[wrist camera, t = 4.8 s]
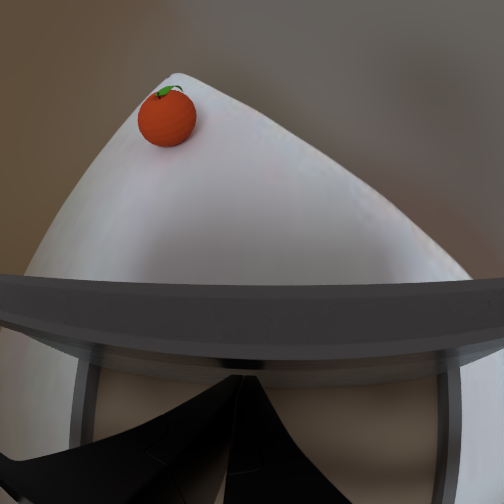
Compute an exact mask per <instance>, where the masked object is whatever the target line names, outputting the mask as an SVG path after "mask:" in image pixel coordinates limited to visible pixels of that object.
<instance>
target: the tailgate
mask: <svg viewBox="0 0 504 504" xmlns="http://www.w3.org/2000/svg"><path fill="white" fill-rule="evenodd" d="M0 326H2V327H5V328H8V329H11V330H14V331H18V332H21V333H23V334H25V335H27V336H29V337H31V338H33V339H35V340H37V341H39V342H41V343H43V344H46V345H48V346H50V347H52V348H55V349H57V350H59V351H62V352H64V353H66V354H69V355H71V356H74V357H76V358H79V359H81V360H84V361H86V362H89V363H92V364H94V365H97V366H100V367H103V368H107V369H112V370H117V371H122V372H127V373H132V374H138V375H143V376H149V377H156V378H162V379H169V380H177V381H185V382H193V383H203V384H213V385H215V384H217V383H218V382H220V381H222V380H223V379H225V378H227V377H228V376H230V375H232V374H236V375H243V376H245V375H255V376H257V378H258V379H259V381H260V383H261V385H262V387H263V388H323V387H344V386H359V385H371V384H381V383H390V382H398V381H406V380H413V379H420V378H426V377H432V376H436V375H439V374H442V373H445V372H448V371H450V370H453V369H456V368H458V367H461V366H464V365H466V364H469V363H471V362H474V361H476V360H479V359H481V358H483V357H486V356H488V355H490V354H493V353H495V352H497V351H499V350H501V349H503V348H504V278H494V279H479V280H463V281H445V282H424V283H400V284H369V285H314V286H244V285H188V284H156V283H130V282H109V281H91V280H74V279H59V278H44V277H31V276H19V275H6V274H0Z"/></svg>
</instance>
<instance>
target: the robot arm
mask: <svg viewBox="0 0 504 504" xmlns="http://www.w3.org/2000/svg"><path fill="white" fill-rule="evenodd" d="M226 470H227V475H226V482H225V491H224V499H223V504H353V503H352V502H350V501H349V500H348V499H347V498H346V497H345V496H344V495H343V494H342V493H341V492H340V491H339V490H338V489H337V488H336V487H335V486H334V485H333V484H332V483H331V482H330V481H329V480H328V479H327V477H326V476H325V475H324V474H323V473H322V472H321V471H320V470H319V469H318V468H317V467H316V466H315V465H314V464H313V463H312V462H311V460H310V459H309V458H308V457H307V456H306V455H305V454H304V453H303V452H302V450H301V449H300V448H299V447H298V445H297V444H296V443H295V441H294V440H293V438H292V437H291V435H290V434H289V432H288V431H287V429H286V427H285V426H284V424H283V423H282V421H281V419H280V417H279V415H278V414H277V412H276V410H275V408H274V407H273V405H272V403H271V401H270V399H269V398H268V396H267V394H266V392H265V390H264V389H263V387H262V385H261V383H260V381H259V379H258V378H257V376H255V375H245V376H243V375H236V374H232V375H230V376H228V377H227V378H225V379H223V380H222V381H220V382H218V383H217V384H215V385H213V386H212V387H210V388H208V389H207V390H205V391H203V392H201V393H200V394H198V395H196V396H195V397H193V398H191V399H189V400H188V401H186V402H184V403H182V404H180V405H179V406H177V407H175V408H173V409H171V410H170V411H168V412H166V413H164V414H161V415H159V416H157V417H156V418H154V419H152V420H149V421H147V422H145V423H143V424H141V425H139V426H136V427H134V428H131V429H129V430H126V431H124V432H121V433H118V434H115V435H113V436H110V437H107V438H104V439H101V440H98V441H95V442H92V443H89V444H85V445H82V446H79V447H76V448H72V449H69V450H65V451H62V452H58V453H54V454H50V455H46V456H42V457H38V458H34V459H29V460H25V461H14V460H11V459H9V458H7V457H6V456H5V455H3V454H2V453H1V452H0V486H1V487H2V488H3V489H4V490H5V491H6V492H7V493H8V494H9V495H10V496H11V497H12V498H13V499H14V500H15V501H16V502H17V503H16V504H214V503H215V500H216V498H217V495H218V492H219V490H220V487H221V484H222V481H223V479H224V476H225V473H226Z"/></svg>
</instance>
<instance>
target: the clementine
mask: <svg viewBox="0 0 504 504" xmlns="http://www.w3.org/2000/svg"><path fill="white" fill-rule="evenodd" d="M173 87H174V86H167V87H164V88H162V89H161V90H159V91H158V92H156V93H154V94H152V95H151V96H149V97H148V98H147V99H146V101H145V102H144V103H143V104H142V106H141V108H140V111H139V113H138V126H139V130H140V132H141V133H142V135H143V136H144V138H145V139H146V140H147V141H149V142H150V143H152V144H154V145H157V146H162V147H167V146H174V145H176V144H179V143H181V142H182V141H183V140H185V139H186V138H187V137H188V136H189V135H190V134H191V132H192V130H193V129H194V127H195V123H196V117H197V116H196V109H195V107H194V105H193V102H192V101H191V100H190V99H189V97H188V96H186V95H185V94H183V93H181V92H179V91H176V90H170V89H172V88H173ZM175 87H178V88H180V89H181V90H182V88H181V87H180V86H175ZM182 91H183V90H182Z"/></svg>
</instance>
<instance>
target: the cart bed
mask: <svg viewBox="0 0 504 504" xmlns="http://www.w3.org/2000/svg"><path fill="white" fill-rule="evenodd" d="M212 386H213V384H203V383H193V382H185V381H177V380H169V379H162V378H156V377H149V376H143V375H138V374H132V373H127V372H122V371H117V370H112V369H107V368H103V367H100V366H97V365H94V364H92V363H89V362H86V361H84V360H81V359H79V361H78V367H77V373H76V380H75V387H74V395H73V403H72V413H71V424H70V439H69V449H72V448H76V447H79V446H82V445H85V444H89V443H92V442H95V441H98V440H101V439H104V438H107V437H110V436H113V435H115V434H118V433H121V432H124V431H126V430H129V429H131V428H134V427H136V426H139V425H141V424H143V423H145V422H147V421H149V420H152V419H154V418H156V417H157V416H159V415H161V414H164V413H166V412H168V411H170V410H171V409H173V408H175V407H177V406H179V405H180V404H182V403H184V402H186V401H188V400H189V399H191V398H193V397H195V396H196V395H198V394H200V393H201V392H203V391H205V390H207V389H208V388H210V387H212ZM263 389H264V390H265V392H266V394H267V396H268V398H269V399H270V401H271V403H272V405H273V407H274V408H275V410H276V412H277V414H278V415H279V417H280V419H281V421H282V423H283V424H284V426H285V427H286V429H287V431H288V432H289V434H290V435H291V437H292V438H293V440H294V441H295V443H296V444H297V445H298V447H299V448H300V449H301V450H302V452H303V453H304V454H305V455H306V456H307V457H308V458H309V459H310V460H311V462H312V463H313V464H314V465H315V466H316V467H317V468H318V469H319V470H320V471H321V472H322V473H323V474H324V475H325V476H326V477H327V479H328V480H329V481H330V482H331V483H332V484H333V485H334V486H335V487H336V488H337V489H338V490H339V491H340V492H341V493H342V494H343V495H344V496H345V497H346V498H347V499H348V500H349V501H350V502H352V503H353V504H454V502H455V496H456V489H457V482H458V474H459V464H460V452H461V431H462V400H461V378H460V367H458V368H456V369H453V370H450V371H448V372H445V373H442V374H439V375H436V376H432V377H426V378H420V379H413V380H406V381H398V382H390V383H381V384H371V385H359V386H344V387H323V388H263ZM226 475H227V470H226V473H225V476H224V479H223V481H222V484H221V487H220V490H219V492H218V495H217V498H216V500H215V503H214V504H223V499H224V491H225V482H226Z"/></svg>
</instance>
